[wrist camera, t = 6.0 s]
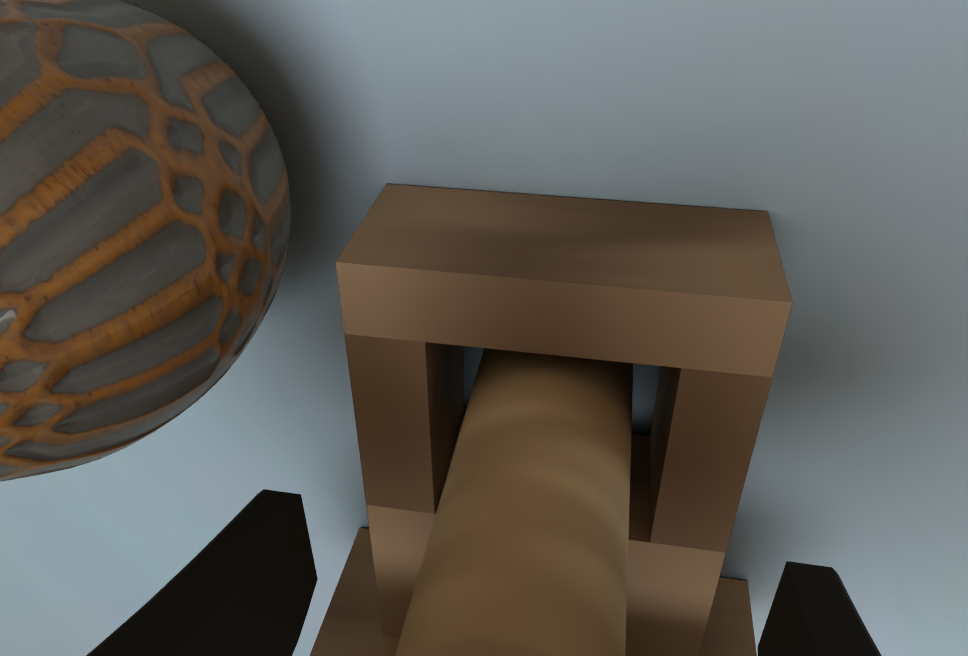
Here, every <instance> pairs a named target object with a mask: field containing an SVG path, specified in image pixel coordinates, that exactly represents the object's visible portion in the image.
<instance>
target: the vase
mask: <svg viewBox="0 0 968 656" xmlns="http://www.w3.org/2000/svg"><path fill="white" fill-rule="evenodd" d="M290 227H291V202H290V190H289V182H288V175H287V170H286V166H285V162H284V158H283V155H282V152H281V149H280V147H279V144H278V141H277V138H276V136H275V134H274V132H273V129H272V127H271V125H270V123H269V121H268V120H267V118H266V116H265V114H264V112H263V111H262V109H261V107H260V106H259V104H258V103H257V101H256V100H255V98H254V97H253V95H252V94H251V93H250V91H249V90H248V88H247V87H246V86H245V85H244V83H243V82H242V81H241V80H240V78H239V77H238V76H237V75H236V74H235V73H234V72H233V71H232V70H231V68H230V67H229V66H228V65H227V64H226V63H225V62H224V61H223V60H222V59H221V58H219V57H218V56H217V55H216V54H215V53H214V52H213V51H212V50H210V49H209V48H208V47H207V46H206V45H205V44H203V43H202V42H201V41H199V40H198V39H197V38H195V37H194V36H193V35H191V34H190V33H188V32H186V31H185V30H183V29H182V28H180V27H179V26H177V25H175V24H173V23H172V22H170V21H168V20H166V19H164V18H162V17H160V16H158V15H156V14H154V13H152V12H149V11H146V10H144V9H141V8H139V7H136V6H134V5H131V4H128V3H126V2H123V1H120V0H0V482H1V481H7V480H13V479H18V478H24V477H30V476H35V475H40V474H45V473H50V472H55V471H59V470H64V469H69V468H72V467H76V466H79V465H82V464H85V463H89V462H92V461H95V460H98V459H101V458H103V457H105V456H108V455H110V454H112V453H115V452H117V451H119V450H121V449H124V448H126V447H128V446H130V445H131V444H133V443H135V442H137V441H139V440H140V439H142V438H144V437H146V436H148V435H149V434H151V433H153V432H154V431H156V430H157V429H159V428H160V427H162V426H163V425H165V424H167V423H168V422H170V421H171V420H172V419H174V418H175V417H177V416H178V415H180V414H181V413H182V412H184V411H185V410H186V409H187V408H189V407H190V406H191V405H193V404H194V403H195V402H196V401H198V400H199V399H200V398H201V397H202V396H203V395H204V394H205V393H207V392H208V391H209V390H210V389H211V388H212V387H213V386H214V385H215V384H216V383H217V382H218V381H219V380H220V379H221V378H222V377H223V376H224V374H225V373H226V372H227V371H228V370H229V368H230V367H231V366H232V365H233V363H234V362H235V361H236V360H237V359H238V357H239V356H240V354H241V353H242V352H243V350H244V349H245V348H246V346H247V344H248V343H249V341H250V340H251V338H252V337H253V335H254V334H255V332H256V331H257V329H258V327H259V325H260V324H261V322H262V320H263V318H264V316H265V314H266V312H267V311H268V309H269V307H270V305H271V303H272V301H273V298H274V296H275V294H276V291H277V288H278V285H279V282H280V278H281V275H282V272H283V268H284V265H285V261H286V256H287V251H288V244H289V236H290Z"/></svg>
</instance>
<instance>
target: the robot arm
mask: <svg viewBox="0 0 968 656" xmlns="http://www.w3.org/2000/svg"><path fill="white" fill-rule="evenodd" d="M316 582H317V574H316V569H315V564H314V559H313V554H312V549H311V544H310V539H309V533H308V528H307V523H306V518H305V513H304V508H303V503H302V498H301V494H293V493H286V492H279V491H272V490H262V491H261V492H260V493H258V494H257V495H256V496H255V497H254V498H253V499H252V500H251V501H250V502H249V503H248V504H247V505H246V506H245V507H244V508H243V509H242V510H241V512H240V513H239V514H238V515H237V516H236V517H235V518H234V519H233V520H232V521H231V522H230V523H229V524H228V525H227V526H226V527H225V528H224V529H223V530H222V531H221V532H220V533H219V534H218V535H217V536H216V537H215V538H214V539H213V540H212V541H211V542H210V543H209V544H208V545H207V546H206V547H205V548H204V549H203V550H202V551H201V552H200V553H199V554H198V555H197V556H196V557H195V558H194V559H193V560H192V561H190V562H189V563H188V564H187V565H186V566H185V567H184V568H183V569H182V570H181V571H180V572H179V573H178V574H177V575H176V576H175V577H174V578H173V579H172V580H170V581H169V582H168V583H167V584H166V585H165V586H164V587H163V588H162V589H161V590H160V591H159V592H158V593H157V594H156V595H155V596H154V597H153V598H151V599H150V600H149V601H148V602H147V603H146V604H145V605H144V606H143V607H142V608H141V609H139V610H138V611H137V612H136V613H135V614H134V615H133V616H131V617H130V618H129V619H128V620H127V621H126V622H125V623H123V624H122V625H121V626H120V627H119V628H118V629H116V630H115V631H114V632H113V633H112V634H111V635H110V636H108V637H107V638H106V639H105V640H104V641H103V642H102V643H100V644H99V645H98V646H97V647H96V648H95V649H94V650H92V651H91V652H90V653H89V654H88V655H86V656H292V654H293V652H294V650H295V647H296V645H297V642H298V639H299V636H300V633H301V630H302V627H303V624H304V621H305V618H306V615H307V612H308V609H309V605H310V602H311V599H312V596H313V592H314V589H315V586H316ZM758 656H881V654H880V652H879V651H878V649H877V647H876V645H875V643H874V642H873V640H872V638H871V636H870V634H869V633H868V631H867V629H866V627H865V625H864V623H863V621H862V620H861V618H860V616H859V614H858V612H857V610H856V608H855V606H854V604H853V602H852V601H851V599H850V597H849V595H848V593H847V591H846V589H845V587H844V585H843V583H842V581H841V579H840V577H839V575H838V574H837V572H836V571H835V570H834V569H833V568H832V567H825V566H817V565H810V564H803V563H796V562H788V561H787V562H786V565H785V568H784V571H783V574H782V577H781V580H780V582H779V585H778V588H777V591H776V594H775V597H774V600H773V603H772V606H771V609H770V612H769V615H768V618H767V621H766V624H765V627H764V630H763V633H762V636H761V639H760V642H759V645H758Z"/></svg>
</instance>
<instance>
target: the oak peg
mask: <svg viewBox="0 0 968 656" xmlns="http://www.w3.org/2000/svg"><path fill="white" fill-rule="evenodd" d="M632 392H633V363H626V362H617V361H607V360H597V359H587V358H577V357H567V356H558V355H548V354H538V353H528V352H518V351H508V350H499V349H489V348H484V351H483V355H482V358H481V362H480V365H479V369H478V372H477V375H476V379H475V382H474V386H473V389H472V393H471V396H470V399H469V403H468V406H467V410H466V413H465V417H464V420H463V424H462V427H461V430H460V434H459V437H458V441H457V444H456V448H455V451H454V454H453V458H452V461H451V465H450V468H449V472H448V475H447V479H446V482H445V485H444V489H443V492H442V496H441V499H440V503H439V506H438V509H437V513H436V516H435V520H434V523H433V527H432V530H431V533H430V537H429V540H428V544H427V547H426V551H425V554H424V558H423V561H422V564H421V568H420V571H419V575H418V578H417V582H416V585H415V588H414V592H413V595H412V599H411V602H410V606H409V609H408V613H407V616H406V619H405V623H404V626H403V630H402V633H401V637H400V640H399V643H398V647H397V650H396V654H395V656H625V645H626V609H627V573H628V537H629V500H630V464H631V428H632Z"/></svg>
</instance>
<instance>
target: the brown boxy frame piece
mask: <svg viewBox="0 0 968 656" xmlns="http://www.w3.org/2000/svg"><path fill="white" fill-rule="evenodd" d="M335 263H336V271H337V279H338V287H339V294H340V302H341V310H342V318H343V326H344V334H345V341H346V349H347V357H348V365H349V373H350V381H351V389H352V396H353V404H354V412H355V420H356V428H357V436H358V443H359V451H360V459H361V467H362V475H363V483H364V491H365V498H366V506H367V514H368V522H369V529H366V528H359V530H358V533H357V536H356V538H355V541H354V543H353V546H352V548H351V551H350V554H349V556H348V559H347V561H346V564H345V566H344V569H343V572H342V574H341V577H340V579H339V582H338V584H337V587H336V589H335V592H334V595H333V597H332V600H331V602H330V605H329V607H328V610H327V613H326V615H325V618H324V620H323V623H322V625H321V628H320V631H319V633H318V636H317V638H316V641H315V643H314V646H313V649H312V651H311V654H310V656H395V654H396V650H397V647H398V643H399V640H400V637H401V633H402V630H403V626H404V623H405V619H406V616H407V613H408V609H409V606H410V602H411V599H412V595H413V592H414V588H415V585H416V582H417V578H418V575H419V571H420V568H421V564H422V561H423V558H424V554H425V551H426V547H427V544H428V540H429V537H430V533H431V530H432V527H433V523H434V520H435V516H436V513H437V509H438V506H439V503H440V499H441V496H442V492H443V489H444V485H445V482H446V479H447V475H448V472H449V468H450V465H451V461H452V458H453V454H454V451H455V448H456V444H457V441H458V437H459V434H460V430H461V427H462V424H463V420H464V417H465V415H464V406H463V361H462V346H469V347H479V348H489V349H499V350H508V351H518V352H528V353H538V354H548V355H558V356H567V357H577V358H587V359H597V360H607V361H617V362H626V363H636V364H646V365H656V366H661V371H660V377H659V384H658V390H657V396H656V402H655V409H654V415H653V421H652V427H651V433H650V436H645V435H636V434H631V464H630V500H629V537H628V573H627V609H626V645H625V656H757V655H756V646H755V638H754V630H753V622H752V613H751V605H750V597H749V589H748V581H743V580H736V579H729V578H721V577H719V576H720V572H721V569H722V565H723V561H724V557H725V554H726V550H727V546H728V542H729V539H730V535H731V531H732V527H733V524H734V520H735V516H736V512H737V509H738V505H739V501H740V497H741V494H742V490H743V486H744V482H745V479H746V475H747V471H748V467H749V464H750V460H751V456H752V452H753V449H754V445H755V441H756V437H757V433H758V430H759V426H760V422H761V418H762V415H763V411H764V407H765V403H766V400H767V396H768V392H769V388H770V385H771V381H772V377H773V373H774V370H775V366H776V362H777V358H778V355H779V351H780V347H781V343H782V340H783V336H784V332H785V328H786V325H787V321H788V317H789V313H790V310H791V306H792V299H791V296H790V292H789V288H788V285H787V281H786V277H785V274H784V270H783V266H782V263H781V259H780V255H779V252H778V248H777V244H776V241H775V237H774V233H773V230H772V226H771V222H770V219H769V215H768V212H764V211H750V210H736V209H722V208H709V207H695V206H681V205H667V204H654V203H640V202H626V201H612V200H599V199H585V198H571V197H557V196H544V195H530V194H516V193H502V192H489V191H475V190H461V189H447V188H434V187H420V186H406V185H393V184H386V186H385V187H384V189H383V190H382V192H381V193H380V195H379V196H378V198H377V199H376V201H375V203H374V204H373V206H372V207H371V209H370V210H369V212H368V213H367V215H366V216H365V218H364V219H363V221H362V222H361V224H360V225H359V227H358V228H357V230H356V232H355V233H354V235H353V236H352V238H351V239H350V241H349V242H348V244H347V245H346V247H345V248H344V250H343V251H342V253H341V254H340V256H339V258H338V259H337V261H336V262H335Z"/></svg>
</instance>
